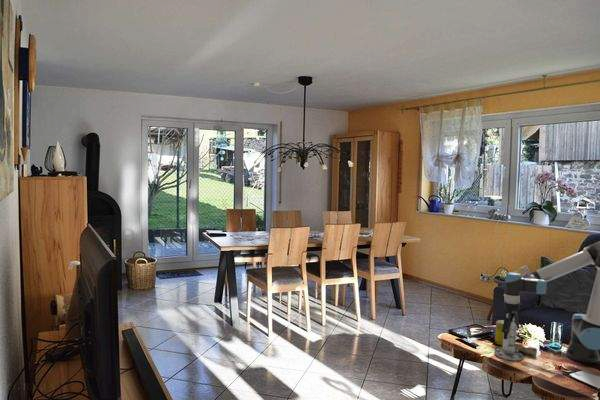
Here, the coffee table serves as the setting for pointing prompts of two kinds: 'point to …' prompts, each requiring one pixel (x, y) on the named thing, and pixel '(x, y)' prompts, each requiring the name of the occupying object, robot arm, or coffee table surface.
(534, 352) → the grey rectangular block
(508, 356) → the flange
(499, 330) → the yellow cylinder
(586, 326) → the robot arm
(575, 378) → the coffee table surface
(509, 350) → the plastic bottle
